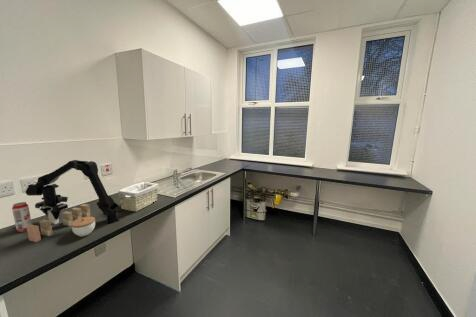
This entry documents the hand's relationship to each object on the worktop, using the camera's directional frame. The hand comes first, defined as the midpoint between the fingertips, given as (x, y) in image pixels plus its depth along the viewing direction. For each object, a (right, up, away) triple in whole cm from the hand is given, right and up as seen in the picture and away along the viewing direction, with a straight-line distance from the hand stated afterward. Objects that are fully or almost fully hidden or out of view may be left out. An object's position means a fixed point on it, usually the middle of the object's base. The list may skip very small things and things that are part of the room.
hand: (53, 218), depth 121 cm
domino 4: (+12, -2, +4) cm, 13 cm away
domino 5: (+13, -1, +9) cm, 16 cm away
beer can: (-9, -4, -8) cm, 13 cm away
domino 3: (+11, -3, -1) cm, 11 cm away
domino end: (+6, -6, -17) cm, 19 cm away
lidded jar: (+28, -5, -10) cm, 30 cm away
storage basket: (+40, +2, +28) cm, 49 cm away
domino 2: (0, -3, 0) cm, 2 cm away
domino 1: (+8, -5, -12) cm, 15 cm away
